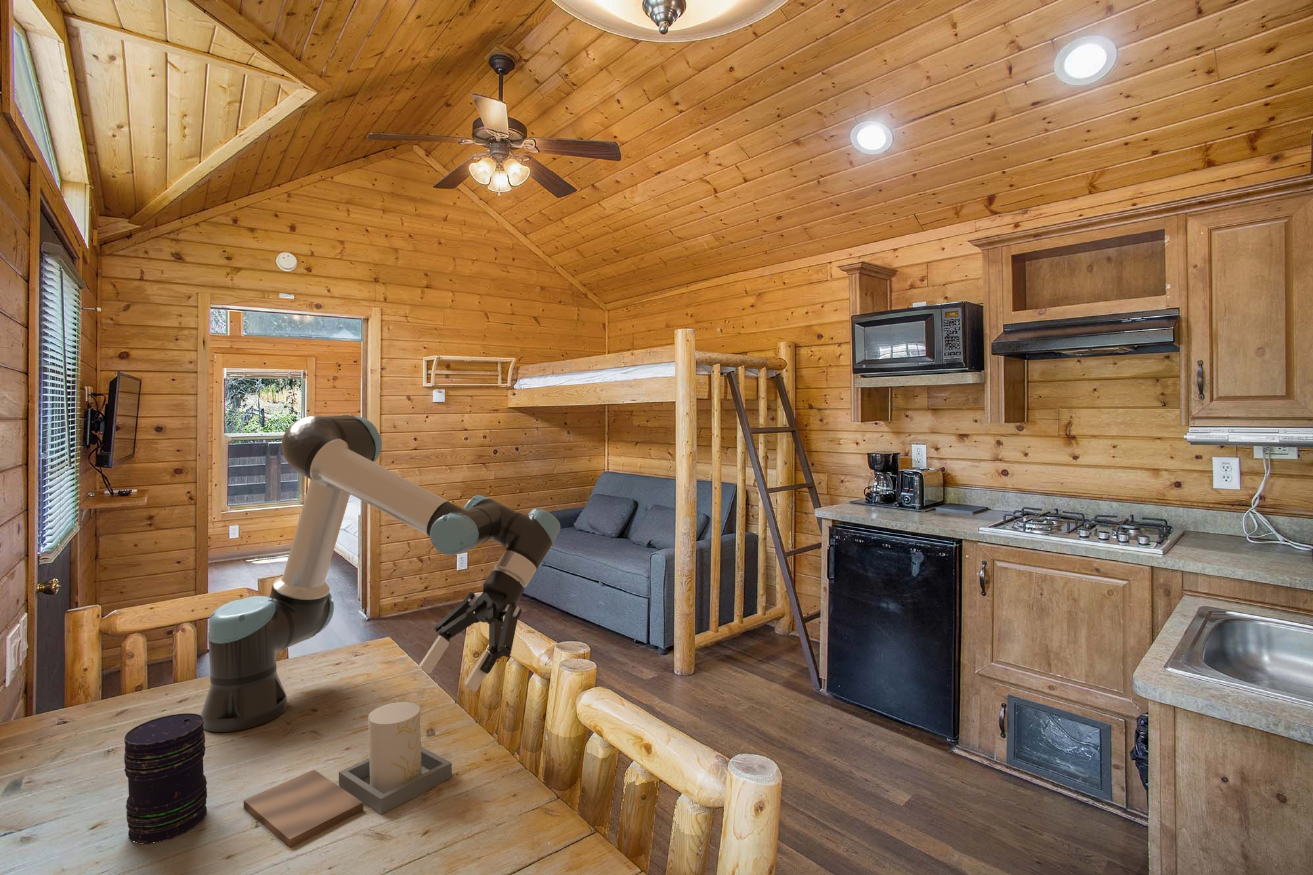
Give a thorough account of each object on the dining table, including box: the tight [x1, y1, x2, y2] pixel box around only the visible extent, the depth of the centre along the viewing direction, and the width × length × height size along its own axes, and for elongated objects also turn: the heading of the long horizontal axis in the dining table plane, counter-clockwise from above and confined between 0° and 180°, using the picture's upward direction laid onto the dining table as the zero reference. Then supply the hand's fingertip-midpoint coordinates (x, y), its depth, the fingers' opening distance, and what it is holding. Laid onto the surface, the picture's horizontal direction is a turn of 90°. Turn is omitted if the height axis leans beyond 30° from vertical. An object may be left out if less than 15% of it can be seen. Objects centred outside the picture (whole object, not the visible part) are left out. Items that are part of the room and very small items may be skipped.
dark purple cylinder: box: [123, 712, 208, 844], centre depth 99 cm, size 10×10×15 cm
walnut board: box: [243, 769, 364, 848], centre depth 103 cm, size 16×11×1 cm
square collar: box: [338, 746, 453, 815], centre depth 110 cm, size 13×13×2 cm
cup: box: [367, 701, 423, 794], centre depth 110 cm, size 8×8×12 cm
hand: (445, 679), depth 117 cm, fingers open, 13 cm apart
